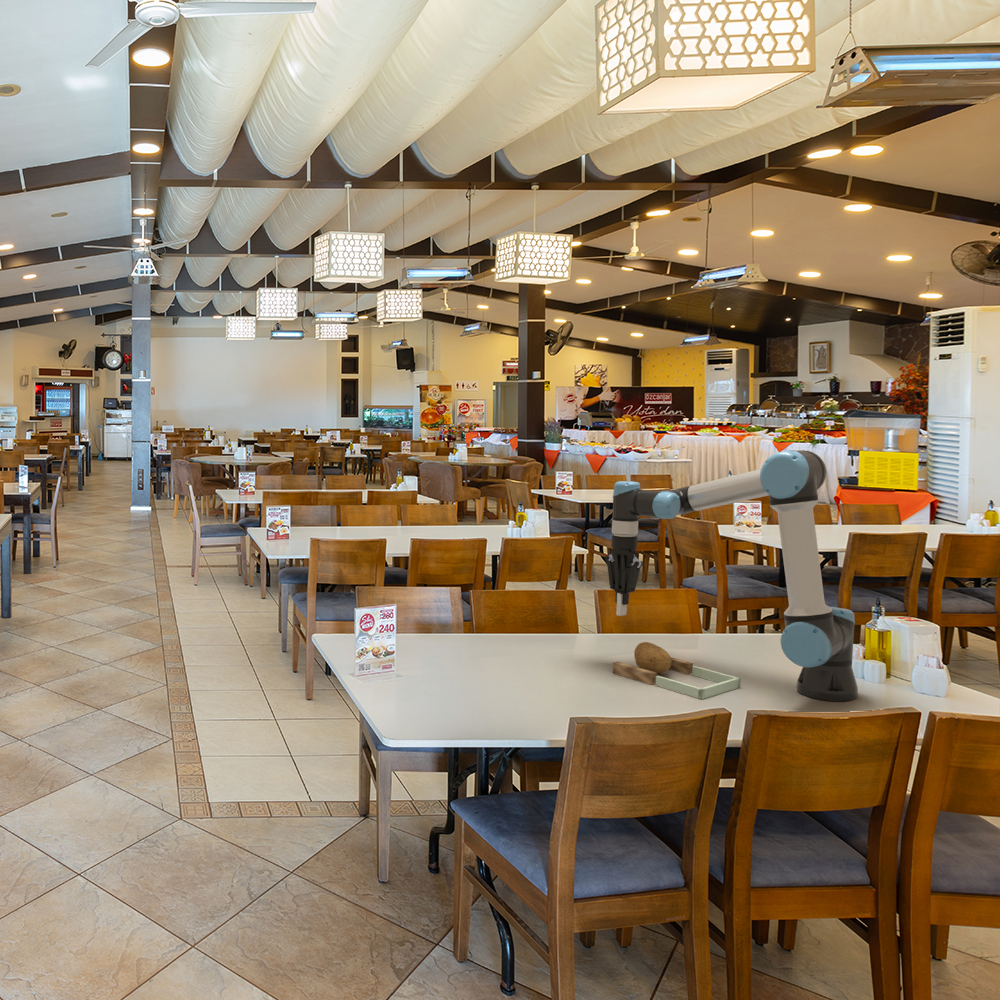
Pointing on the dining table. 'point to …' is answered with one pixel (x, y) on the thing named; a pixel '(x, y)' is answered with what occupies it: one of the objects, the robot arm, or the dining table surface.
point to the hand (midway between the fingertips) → (621, 614)
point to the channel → (648, 675)
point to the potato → (652, 658)
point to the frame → (722, 686)
